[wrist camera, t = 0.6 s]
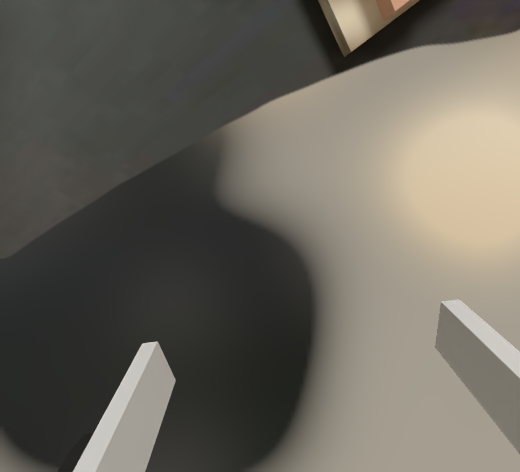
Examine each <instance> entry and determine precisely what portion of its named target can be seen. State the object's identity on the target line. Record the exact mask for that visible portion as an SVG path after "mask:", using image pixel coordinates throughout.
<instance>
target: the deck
mask: <svg viewBox="0 0 520 472" xmlns="http://www.w3.org/2000/svg"><path fill="white" fill-rule="evenodd" d="M418 1H419V0H410V1H409V2H408V3H406V4H405V5H404V6H402V7H401V8H400V9H399V10H397V11H396V12H395V13H393V14H392V15H391V16H389V17H388V18H387V19H385V20H383V18H382V15H381V13H380V10H379V8H378V5H377V2H376V0H318V2H319V4H320V6H321V8H322V11H323V13H324V15H325V17H326V19H327V21H328V23H329V26H330V28H331V30H332V32H333V34H334V36H335V39H336V41H337V43H338V45H339V47H340V49H341V52H342V54H343V56H344V57H345V56H347V55H348V54H349V53H351V52H352V51H353V50H355V49H356V48H357V47H359V46H360V45H361V44H363V43H364V42H365V41H367V40H368V39H369V38H371V37H372V36H373V35H374V34H376V33H377V32H378V31H380V30H381V29H382V28H384V27H385V26H386V25H388V24H389V23H390V22H392V21H393V20H394V19H396V18H397V17H398V16H400V15H401V14H402V13H403V12H405V11H406V10H407V9H409V8H410V7H411V6H413V5H414V4H415V3H417V2H418Z"/></svg>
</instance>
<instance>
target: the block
mask: <svg viewBox="0 0 520 472" xmlns="http://www.w3.org/2000/svg"><path fill="white" fill-rule="evenodd" d="M409 1H410V0H376V2H377V5H378V8H379V10H380V13H381V15H382V18H383V20H385V19H387V18H388V17H389V16H391V15H392V14H393V13H395V12H396V11H397V10H399V9H400V8H401V7H402V6H404V5H405V4H406V3H408V2H409Z"/></svg>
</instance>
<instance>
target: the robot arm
mask: <svg viewBox="0 0 520 472" xmlns="http://www.w3.org/2000/svg"><path fill="white" fill-rule="evenodd" d="M435 348H436V349H437V350H438V351H439V352H440V354H441V355H442V356H443V358H444V359H445V360H446V361H447V363H448V364H449V365H450V366H451V368H452V369H453V370H454V372H455V373H456V374H457V375H458V377H459V378H460V379H461V380H462V382H463V383H464V384H465V385H466V387H467V388H468V389H469V390H470V392H471V393H472V394H473V396H474V397H475V398H476V399H477V401H478V402H479V403H480V404H481V406H482V407H483V408H484V410H485V411H486V412H487V413H488V415H489V416H490V417H491V418H492V420H493V421H494V422H495V423H496V425H497V426H498V427H499V428H500V430H501V431H502V432H503V433H504V435H505V436H506V437H507V439H508V440H509V441H510V442H511V444H512V445H513V446H514V447H515V449H516V450H517V451H518V453H519V454H520V352H519V351H518V350H517V349H516V348H515V347H513V346H512V345H511V344H510V343H509V342H508V341H506V340H505V339H504V338H503V337H502V336H501V335H500V334H498V333H497V332H496V331H495V330H494V329H493V328H491V327H490V326H489V325H488V324H487V323H486V322H484V320H482V319H481V318H480V317H479V316H478V315H477V314H475V313H474V312H473V311H472V310H471V309H470V308H469V307H467V306H466V305H465V304H464V303H463V302H462V301H461V300H459V299H457V300H450V301H443V302H441V306H440V314H439V321H438V329H437V337H436V346H435ZM174 383H175V378H174V376H173V374H172V372H171V370H170V367H169V365H168V363H167V361H166V359H165V357H164V354H163V352H162V350H161V348H160V346H159V343H158V342H150V343H143V344H142V346H141V347H140V349H139V351H138V353H137V355H136V357H135V358H134V360H133V362H132V364H131V366H130V368H129V369H128V371H127V373H126V375H125V377H124V379H123V380H122V382H121V384H120V386H119V388H118V390H117V391H116V393H115V395H114V397H113V399H112V401H111V403H110V404H109V406H108V408H107V410H106V412H105V413H104V415H103V417H102V419H101V421H100V423H99V425H98V426H97V429H96V430H95V432H94V433H90V434H84V435H83V436H82V437H81V438H80V440H79V441H78V442H77V443H76V444H75V445H74V446H73V448H72V449H71V450H70V451H69V453H68V454H67V456H66V458H65V460H64V461H63V463H62V465H61V466H60V468H59V470H58V472H145V470H146V467H147V464H148V461H149V458H150V455H151V452H152V449H153V446H154V443H155V440H156V437H157V434H158V431H159V428H160V425H161V422H162V419H163V416H164V413H165V410H166V407H167V404H168V401H169V398H170V395H171V392H172V389H173V386H174Z"/></svg>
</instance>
